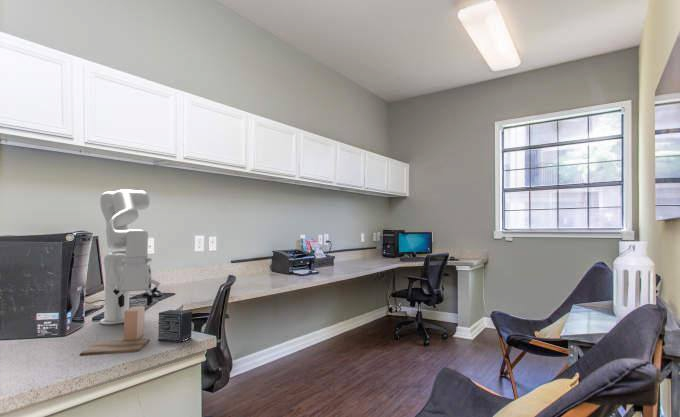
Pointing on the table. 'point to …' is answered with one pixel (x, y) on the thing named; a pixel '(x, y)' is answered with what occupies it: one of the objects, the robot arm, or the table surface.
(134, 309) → the tan wooden block
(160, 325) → the small box
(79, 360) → the table surface
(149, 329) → the table surface
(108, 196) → the robot arm
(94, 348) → the walnut board
